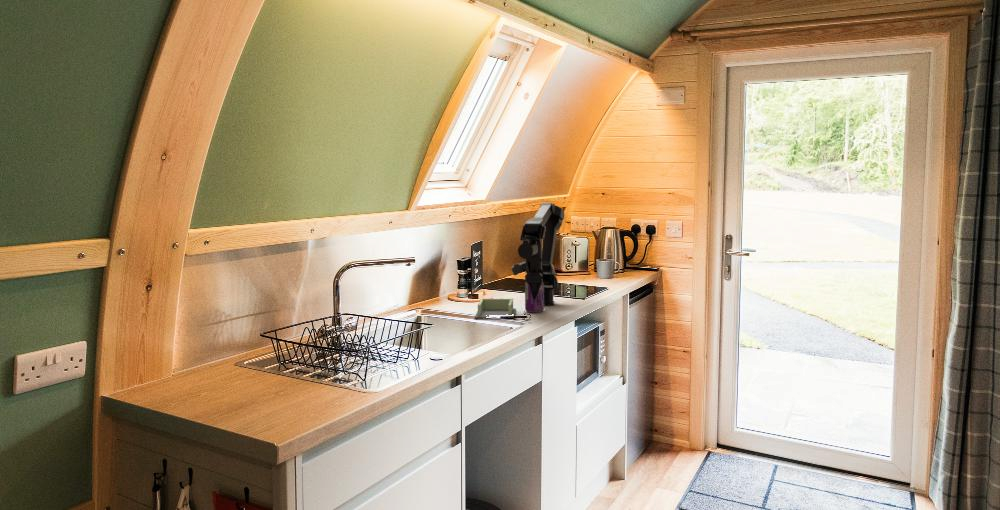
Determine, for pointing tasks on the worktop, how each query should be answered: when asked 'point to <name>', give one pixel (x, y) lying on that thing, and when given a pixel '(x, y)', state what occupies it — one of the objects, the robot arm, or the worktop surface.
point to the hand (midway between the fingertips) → (534, 296)
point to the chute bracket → (494, 307)
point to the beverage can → (531, 303)
